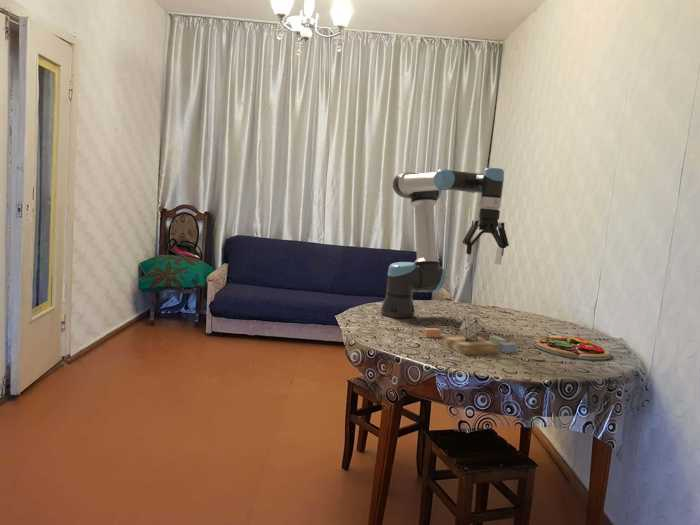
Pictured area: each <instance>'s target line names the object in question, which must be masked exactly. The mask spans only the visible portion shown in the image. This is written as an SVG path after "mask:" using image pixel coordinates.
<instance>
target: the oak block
mask: <svg viewBox="0 0 700 525" xmlns="http://www.w3.org/2000/svg"><path fill="white" fill-rule="evenodd" d="M477 339H478V341H477ZM477 339H467V341H466V338H464V336H463V335H462V334H459V335H458V334H457V335H456V334H455V335H452V334H451V335H441V341H440V342H441V345H442V344H443V345H442V346H445V347H447V348H449V349H451V350H453V349H454V350H453V351H455V350H456V352H458V353H460V354H462V353H463V354H462V355H464V354H468V355H485V354H486V355H487V354H488V355H490V354H498V345H497V344H495V343H492V342H490V341H489V340H487V339H485V338H482V337H480V336H478V338H477Z"/></svg>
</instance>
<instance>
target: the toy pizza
mask: <svg viewBox="0 0 700 525" xmlns="http://www.w3.org/2000/svg"><path fill="white" fill-rule="evenodd" d="M532 345H533V346H534V347H535V346H536V347H535V348H537V349H538V348H539V350H540V349H541V350H540V351H542V350H543V351H542V352H545V351H546V352H545V353H548V352H549V353H548V354H551V353H552V355H554V354H556V356H558V355H560V356H559V357H563V356H564V358H568V357H569V359H574V358H575V360H583V361H605V360H609V359H611V358H612V356H613V354H612V353H611V352H610V351H608V350H607V349H606V348H604V347H601V346H599V345H597V344H595V343H594V342H592V341H591V340H589V339H586V338H583V337H577V336H574V337H570V338H569V339H568V337H567V336H562V335H549V336H544V337H541V338H540V337H539V338H537V339H535V340H533V342H532Z"/></svg>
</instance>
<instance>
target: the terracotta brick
mask: <svg viewBox="0 0 700 525" xmlns="http://www.w3.org/2000/svg"><path fill="white" fill-rule="evenodd" d="M441 334H442V329H441V328H438V327H423V328H422V336H423V335H424V336H423V337H425V336H426V337H425V338H441V337H442V335H441Z"/></svg>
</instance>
